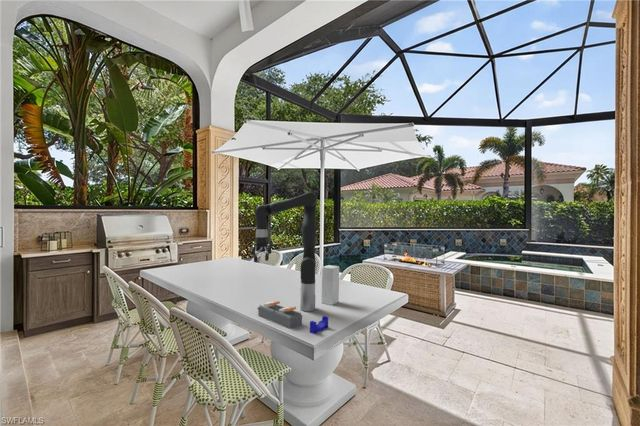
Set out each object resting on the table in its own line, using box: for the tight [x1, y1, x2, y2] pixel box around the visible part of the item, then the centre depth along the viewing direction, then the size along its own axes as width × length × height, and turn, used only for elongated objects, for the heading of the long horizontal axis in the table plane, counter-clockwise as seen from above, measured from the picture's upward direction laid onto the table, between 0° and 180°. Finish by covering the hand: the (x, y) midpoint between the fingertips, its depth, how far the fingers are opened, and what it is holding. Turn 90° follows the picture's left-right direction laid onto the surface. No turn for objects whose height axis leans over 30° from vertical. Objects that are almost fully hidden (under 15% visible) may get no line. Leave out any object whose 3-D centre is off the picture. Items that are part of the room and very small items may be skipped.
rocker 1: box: [263, 301, 281, 306], centre depth 180 cm, size 9×5×1 cm, turn 48°
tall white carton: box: [321, 264, 340, 306], centre depth 210 cm, size 9×9×25 cm
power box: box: [257, 304, 303, 329], centre depth 178 cm, size 34×9×6 cm, turn 48°
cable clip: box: [309, 315, 329, 335], centre depth 163 cm, size 12×4×6 cm, turn 142°
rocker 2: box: [279, 306, 297, 311], centre depth 171 cm, size 9×5×1 cm, turn 48°
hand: (261, 261), depth 195 cm, fingers open, 8 cm apart
